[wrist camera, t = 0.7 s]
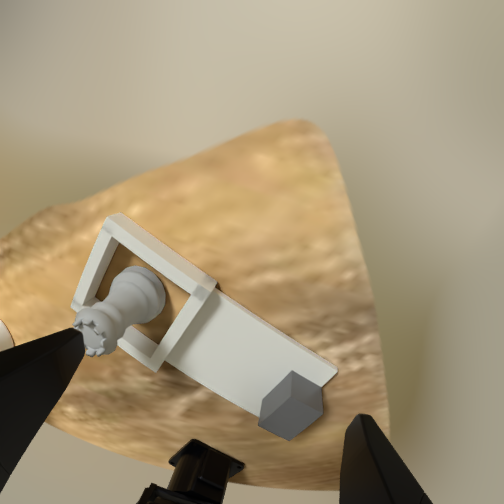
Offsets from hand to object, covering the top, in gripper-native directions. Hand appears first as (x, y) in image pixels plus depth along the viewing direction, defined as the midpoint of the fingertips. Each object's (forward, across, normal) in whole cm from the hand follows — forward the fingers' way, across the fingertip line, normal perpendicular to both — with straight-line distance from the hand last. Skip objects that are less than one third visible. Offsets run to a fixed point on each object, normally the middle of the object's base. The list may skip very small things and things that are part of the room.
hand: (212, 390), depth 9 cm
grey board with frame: (+13, +3, +9) cm, 16 cm away
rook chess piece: (+14, +8, +6) cm, 17 cm away
